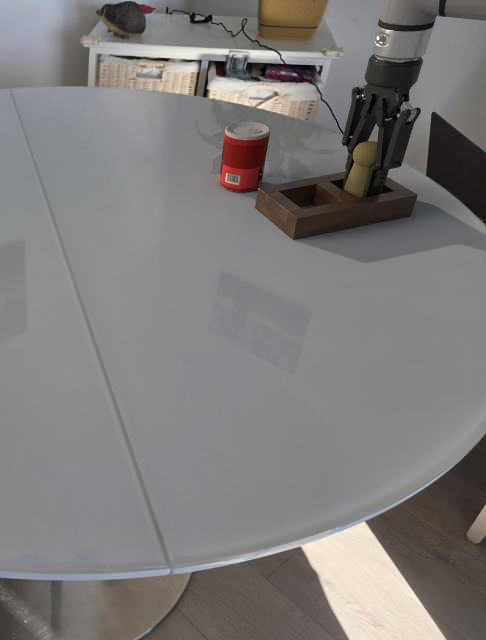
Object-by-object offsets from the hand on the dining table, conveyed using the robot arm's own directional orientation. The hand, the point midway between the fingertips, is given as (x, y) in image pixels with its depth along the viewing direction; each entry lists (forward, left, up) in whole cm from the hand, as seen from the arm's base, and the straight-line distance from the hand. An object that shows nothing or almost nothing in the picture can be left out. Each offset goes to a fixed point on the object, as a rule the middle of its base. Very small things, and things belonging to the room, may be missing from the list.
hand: (359, 195), depth 113 cm
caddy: (0, +5, -2) cm, 6 cm away
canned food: (+16, +14, -3) cm, 21 cm away
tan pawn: (0, 0, -2) cm, 2 cm away
